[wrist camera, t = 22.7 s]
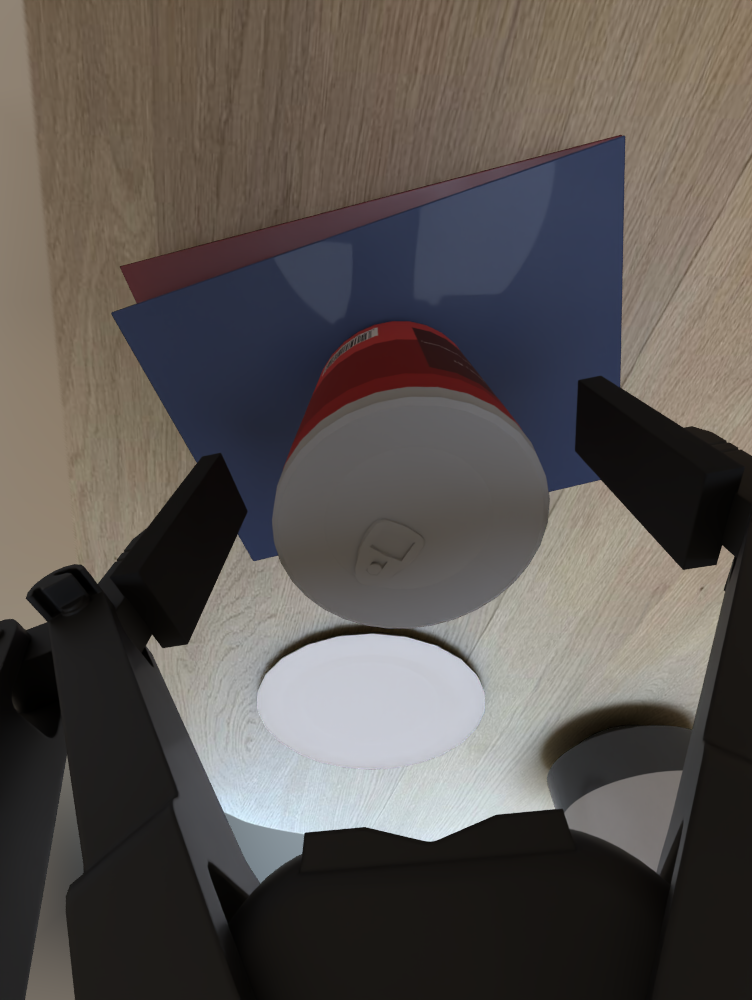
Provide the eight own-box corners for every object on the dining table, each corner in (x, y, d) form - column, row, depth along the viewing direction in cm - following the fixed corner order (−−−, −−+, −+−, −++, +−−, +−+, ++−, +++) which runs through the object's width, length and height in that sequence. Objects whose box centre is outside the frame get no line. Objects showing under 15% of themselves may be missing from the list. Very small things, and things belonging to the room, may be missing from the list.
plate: (211, 671, 45) (206, 686, 43) (423, 587, 38) (425, 601, 37) (335, 774, 56) (334, 788, 55) (514, 722, 50) (518, 737, 48)
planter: (711, 757, 54) (840, 956, 39) (566, 795, 60) (630, 982, 45) (683, 678, 46) (835, 895, 31) (515, 730, 51) (574, 936, 36)
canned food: (304, 455, 22) (254, 610, 13) (333, 295, 18) (292, 354, 9) (440, 486, 24) (483, 649, 14) (496, 340, 19) (610, 436, 10)
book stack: (158, 262, 25) (76, 271, 18) (579, 152, 22) (671, 113, 15) (260, 501, 33) (231, 568, 27) (570, 443, 31) (625, 501, 24)
